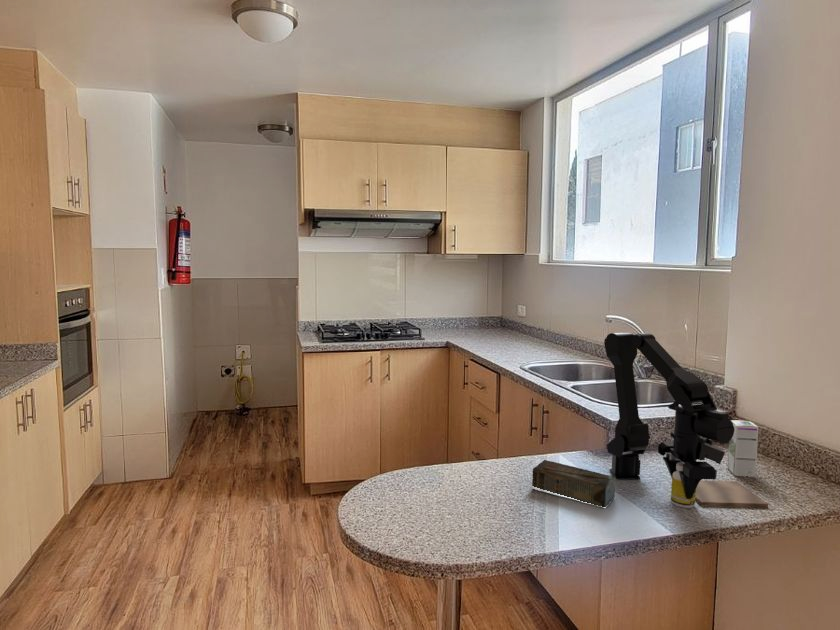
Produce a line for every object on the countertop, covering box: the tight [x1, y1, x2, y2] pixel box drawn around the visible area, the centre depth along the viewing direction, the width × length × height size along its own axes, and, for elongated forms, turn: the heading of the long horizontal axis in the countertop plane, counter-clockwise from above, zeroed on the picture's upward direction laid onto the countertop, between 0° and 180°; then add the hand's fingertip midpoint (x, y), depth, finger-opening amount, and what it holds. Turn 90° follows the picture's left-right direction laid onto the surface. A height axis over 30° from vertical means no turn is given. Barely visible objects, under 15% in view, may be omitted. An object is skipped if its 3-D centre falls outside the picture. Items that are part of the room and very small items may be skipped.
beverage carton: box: [531, 459, 617, 508], centre depth 142 cm, size 8×19×7 cm, turn 56°
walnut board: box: [695, 480, 769, 509], centre depth 143 cm, size 16×14×1 cm
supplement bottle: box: [670, 462, 696, 509], centre depth 137 cm, size 5×5×10 cm
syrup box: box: [727, 419, 759, 478], centre depth 158 cm, size 6×6×14 cm
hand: (683, 493), depth 137 cm, fingers closed on supplement bottle, 5 cm apart
